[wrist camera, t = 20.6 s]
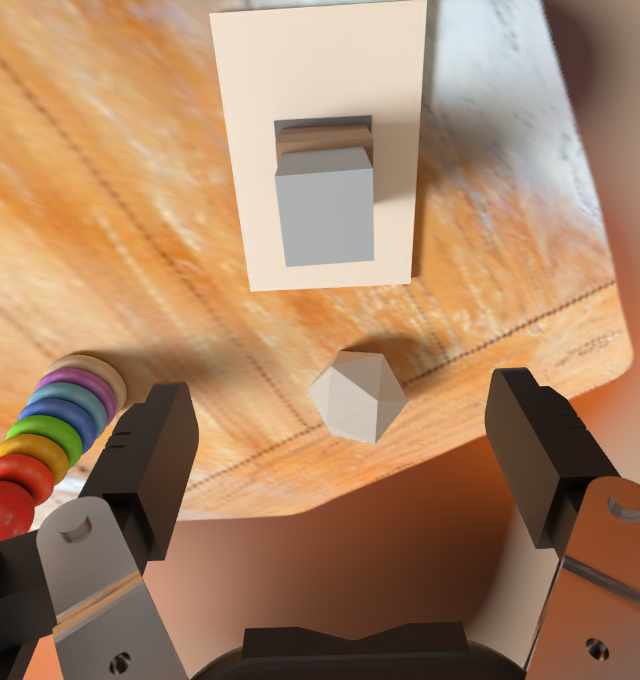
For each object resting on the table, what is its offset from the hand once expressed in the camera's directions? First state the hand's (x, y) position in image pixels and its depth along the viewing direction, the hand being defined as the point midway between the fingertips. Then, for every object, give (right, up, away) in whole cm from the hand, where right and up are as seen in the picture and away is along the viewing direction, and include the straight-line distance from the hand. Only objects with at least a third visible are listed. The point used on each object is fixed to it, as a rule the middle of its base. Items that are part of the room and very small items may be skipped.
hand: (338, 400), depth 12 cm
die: (+3, -1, +35) cm, 35 cm away
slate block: (0, +11, +18) cm, 21 cm away
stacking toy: (-24, -3, +35) cm, 43 cm away
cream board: (0, +15, +24) cm, 28 cm away
